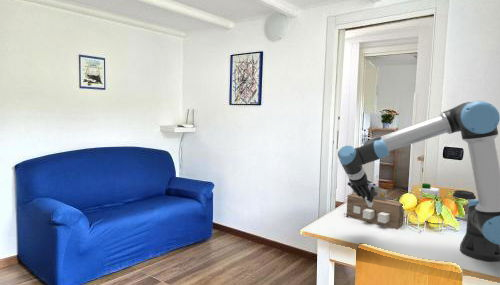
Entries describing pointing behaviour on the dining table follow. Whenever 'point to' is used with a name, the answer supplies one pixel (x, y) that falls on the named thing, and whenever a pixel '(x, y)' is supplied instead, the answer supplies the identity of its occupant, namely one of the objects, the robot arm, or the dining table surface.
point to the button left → (357, 209)
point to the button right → (384, 217)
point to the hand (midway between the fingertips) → (370, 204)
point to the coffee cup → (464, 195)
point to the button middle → (369, 213)
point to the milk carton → (429, 190)
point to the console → (377, 208)
